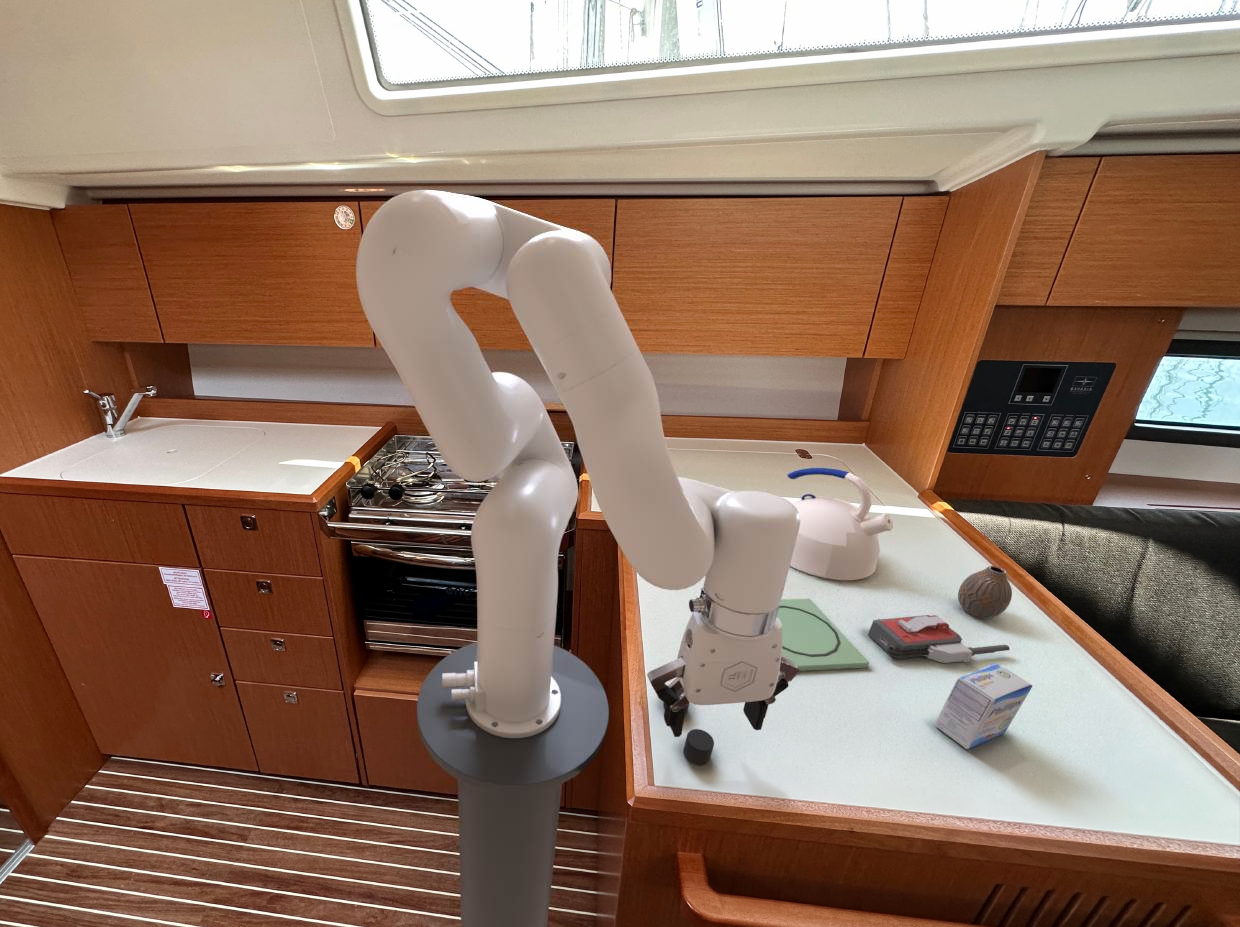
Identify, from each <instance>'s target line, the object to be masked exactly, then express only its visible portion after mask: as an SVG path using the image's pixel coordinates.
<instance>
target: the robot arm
mask: <svg viewBox="0 0 1240 927" xmlns="http://www.w3.org/2000/svg"><path fill="white" fill-rule="evenodd" d="M355 278H356V280H355V281H356V287H357V289H356V290H357V293H358V297H359V301H360V305H361V308H362V310H363V313H364V315H365V317H366V319H367V321H368V323H369V325H370V327H371V329H372V331H373V333H374V334H375V336H376V338H377V339H378V341H379V343H380V345H381V346H382V348H383V349H384V351H385V352H386V354H387V356H388V358H389V359H390V361H391V363H392V364H393V366H394V368H395V370H396V371H397V374H398V376H399V377H400V380H401V381H402V383H403V385H404V387H405V389H406V392H407V394H408V396H409V398H410V400H411V402H412V403H413V406H414V407H415V408H416V411H417V413H418V415H419V417H420V419H421V421H422V423H423V425H424V426H425V429H426V430H427V433H428V434H429V436H430V438H431V440H432V442H433V444H434V446H435V448H436V449H437V451H438V453H439V455H440V457H441V458H442V460H443V462H444V463H445V464H446V466H447V467H448V468H449V469H450V471H451V472H452V473H453V474H454V475H456V476H457V477H459V478H460V479H463V480H466V481H467V482H475V483H478V482H479V483H480V482H484V481H488V480H490V479H492V478H495V477H497V479H498V481H497V482H496V484H495V485H494V486H493V487H492V488H491V490H490V491H489V492H488V493H487V494H486V496H485V497H484V499H483V500H482V501H481V503H480V504H479V507H478V508H477V509H476V512H475V514H474V516H473V521H472V524H471V531H470V543H471V544H470V545H471V550H472V555H473V560H474V565H475V566H474V567H475V574H476V575H475V576H476V604H477V605H476V608H477V609H476V610H477V613H476V616H477V618H476V620H477V625H476V626H477V628H476V630H477V631H476V633H477V635H476V636H477V640H476V642H477V662H474V670H467V673H459V674H456V673H443V674H442V687H443V689H444V688H456V687H467V689H462V690H461V689H452V701H453V700H462V699H466V708H467V711H468V714H469V715H470V717H471V719H472V720H473V721H474V722H475V723H476V724H477V725H478V726H479V727H480V728H482V729H483V730H485V731H486V732H489V733H491V734H493V735H496V736H500V737H504V738H524V737H529V736H533V735H535V734H538V733H540V732H542V731H543V730H545V729H546V728H548V727H549V726H550V725H551V724H552V723H553V722H554V721H555V719H556V718H557V716H558V714H559V711H560V706H561V692H560V689H559V686H558V685H557V683H556V681H555V680H554V679H553V678H552V676H551V673H552V661H553V649H554V645H555V635H556V623H557V611H558V610H557V609H558V607H557V606H558V597H559V596H558V594H559V570H558V562H559V552H560V547H561V543H562V539H563V536H564V534H565V532H566V529H567V527H568V525H569V521H570V519H571V517H572V515H573V512H574V511H575V508H576V505H577V502H578V496H579V487H578V486H579V485H578V482H577V481H578V480H577V477H576V474H575V472H574V471H575V470H574V469H573V466H572V464H571V462H570V460H569V458H568V454H567V452H566V451H565V448H564V446H563V444H562V442H561V440H560V437H559V435H558V433H557V431H556V429H555V427H554V424H553V422H552V420H551V417H550V416H549V414H548V411H547V409H546V407H545V405H544V403H543V401H542V399H541V398H540V396H539V394H538V393H537V392H536V391H535V389H534V388H533V387H532V386H531V385H530V384H529V383H528V382H527V381H525V380H524V379H523V378H522V377H519V376H518V375H515V374H513V373H509V372H504V371H494V372H492V371H491V369H490V367H489V365H488V363H487V361H486V360H485V357H484V356H483V352H482V350H481V347H480V345H479V343H478V341H477V339H476V337H475V336H474V334H473V333H472V331H471V330H470V328H469V327H468V326H467V323H466V322H464V320H463V319H462V318H461V317H460V315H459V314H458V313H457V311H456V309H455V308H454V306H453V304H452V301H451V296H452V293H453V292H454V291H459V290H463V289H467V288H475V289H478V290H481V291H483V292H487V293H489V294H492V295H495V296H498V297H501V298H503V299H505V300H508V302H509V305H510V307H511V309H512V312H513V313H514V316H515V317H516V320H517V321H518V323H519V325H520V327H521V328H522V331H523V333H524V334H525V337H526V339H527V340H528V342H529V344H530V346H531V348H532V349H533V351H534V353H535V354H536V356H537V358H538V359H539V361H540V364H541V365H542V367H543V368H544V371H545V373H546V375H547V377H548V378H549V381H550V382H551V384H552V386H553V388H554V389H555V392H556V394H557V395H558V397H559V400H560V402H561V403H562V405H563V407H564V409H565V411H566V413H567V415H568V417H569V419H570V421H571V424H572V426H573V430H574V434H575V439H576V442H577V445H578V449H579V452H580V454H581V458H582V460H583V464H584V466H585V470H586V474H587V476H588V479H589V482H590V485H591V489H592V491H593V494H594V497H595V500H596V502H597V505H598V507H599V510H600V512H601V514H602V516H603V518H604V520H605V523H606V524H607V526H608V528H609V530H610V532H611V533H612V536H613V537H614V539H615V541H616V543H617V544H618V546H619V548H620V550H621V551H622V553H623V555H624V557H625V559H626V560H627V562H628V563H629V565H630V566H631V568H632V569H633V570H634V571H635V572H636V574H638V575H639V576H640V577H641V578H642V579H643V580H644V581H645V582H647V583H648V584H651V586H654V587H656V588H659V589H661V590H667V591H682V590H686V589H688V588H691V587H693V586H695V585H697V584H698V583H699V582H701V581H702V580H703V579H704V581H703V582H704V583H703V586H702V587H701V589H700V595H699V597H696V598H694V599H693V598H692V599H691V598H690V599H689V600H688V608H689V611H690V612H691V615H690V617H689V619H688V622H687V624H686V626H685V630H684V633H683V635H682V638H681V641H680V646H679V649H678V653H677V659H674V660H671V661H670V662H667V663H665V664H663V665H661V666H659V667H657V668H655V669H653V670H650V671H649V672H648V673H647V674H646V676H647V678H648V681H649V683H650V685H651V687H652V689H653V691H654V692H655V694H656V696H657V697H658V699H659V700H660V701H662V702H663V704H664V703H666V705H665V708H664V712H663V720H664V722H665V725H666V726H667V727H669V728H670V730H671V731H672V735H673V736H674V738H679V737H681V736H682V734H683V728H684V723H685V718H686V714H685V711H684V709H683V707H684V706H686V705H687V704H688V703H689V702H690V703H689V704H693V705H696V706H716V705H728V704H740V703H741V704H742V703H744V705H743V709H742V710H743V711H742V712H743V714H744V715H745V717H746V719H747V720H748V722H749V723H750V726H751V728H753V730H755V731H762V727H763V724H764V720H765V718H766V717H767V712H768V708H769V705H773V704H774V703H775V702H776V700H777V698H776V697H777V696H778V695H780V694H781V693H782V692H784V691H785V690H786V689H787V688H789V686H790V685H789V682H792V681H793V680H794V679H795V677H796V676H797V675H799V673H800V672H801V671H800V669H799V668H798V667H797V665H796V664H795V663H794V662H793V661H792V660H789V659H787V658H784V657H781V656H782V623H781V621H780V619H779V618H778V617H777V614H778V610H779V606H780V602H781V600H782V598H783V595H784V590H785V587H786V586H785V585H786V582H787V577H788V573H789V570H790V567H791V566H790V563H791V559H792V555H793V551H794V547H795V544H796V540H797V536H798V532H799V527H800V515H799V512H798V510H797V509H796V507H795V506H794V505H793V504H794V503H792V502H791V501H789V500H788V499H786V498H784V497H782V496H779V495H777V494H774V493H771V492H765V491H760V490H740V491H737V490H733V489H729V488H725V487H720V486H717V485H714V484H710V483H707V482H703V481H700V480H697V479H694V478H689V477H684V476H678V474H677V472H676V469H675V467H674V464H673V461H672V458H671V455H670V452H669V448H668V445H667V442H666V438H665V433H664V429H663V428H664V427H663V423H662V421H663V420H662V413H661V405H660V399H659V394H658V390H657V387H656V383H655V380H654V376H653V374H652V372H651V369H650V368H649V366H648V364H647V362H646V360H645V358H644V356H643V354H642V351H641V350H640V347H639V346H638V344H637V342H636V340H635V338H634V336H633V333H632V332H631V330H630V327H629V326H628V324H627V321H626V319H625V317H624V315H623V313H622V311H621V309H620V307H619V304H618V302H617V300H616V298H615V296H614V293H613V291H612V289H611V283H612V268H611V263H610V260H609V258H608V255H607V253H606V251H605V249H604V248H603V247H602V245H601V244H600V243H599V242H598V241H597V240H596V239H595V238H593V237H592V236H591V235H588V234H586V233H583V232H582V231H579V230H576V229H571V228H569V227H565V226H561V225H558V224H555V223H552V222H550V221H546V220H543V219H540V218H538V217H534V216H533V215H529V214H526V213H523V212H520V211H517V210H514V209H512V208H509V207H507V206H504V205H502V204H501V205H500V204H497V203H495V202H492V201H490V200H487V199H483V198H480V197H476V196H472V195H465V194H460V193H452V192H447V191H442V190H433V189H417V190H416V189H415V190H411V191H406V192H403V193H400V194H398V195H395V196H393V197H391V198H390V199H388V200H387V201H386V202H384V203H383V204H382V205H381V206H380V207H379V208H378V209H377V210H376V211H375V212H374V214H372V216H371V218H370V219H369V221H368V223H367V224H366V226H365V228H364V231H363V233H362V236H361V238H360V241H359V245H358V250H357V255H356V263H355ZM671 680H672V681H671ZM669 681H671V682H670V683H669V684H668V685H667V684H666V683H667V682H669ZM682 688H683V689H684V692H683V693H682V694H681V695H680V696H678V694H677V692H678V691H679V690H680V689H682Z"/></svg>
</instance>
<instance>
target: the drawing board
mask: <svg viewBox="0 0 1240 927" xmlns="http://www.w3.org/2000/svg"><path fill="white" fill-rule="evenodd" d="M777 617H778V618H779V619H780V621H781V623H782V656H781V657H784V658H787V659H789V660H792V661H793V662H794V663H795V664H796V665H797V667H798V668H799V669H800V671H799V672H804V671H805V672H806V671H825V670H844V669H847V670H848V669H867V668H868V667H869V666H870V662H869V661H868V659H867V658H866V657H865V656H864V655H863V654H862V653H861V652H860V651H859V650H858V648H857V647H855V646H854V644H853V643H852V642H851V641H850V640H849V639H848V638H847V637H846V636H845V634H843V632H841V630H840V629H839V628H837V626H836V625H835V624H834V623H833V622H832V621H831V620H830V618H828V617H827V615H825V613H824V612H822V610H821V609H820V608H819V607H818V606H817V605H816V604H815V603H814V602H813V601H812V600H811V598H791V599H781V602H780V606H779V610H778V614H777Z"/></svg>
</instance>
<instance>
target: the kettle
mask: <svg viewBox="0 0 1240 927" xmlns="http://www.w3.org/2000/svg"><path fill="white" fill-rule="evenodd" d="M813 475H814V476H815V475H816V476H819V475H820V476H830V477H836V478H840V479H842V480H843V479H844V480H846V481H848V482H849V483H852V484H853V486H854V487H855V488H856V489H857V491H858V493H859V495H860V503H859V504H860V505H859V506H857V505H855V504H852V503H851V502H848V501H846V500H843V499H840V498H835V497H830V496H815V495H814V494H812V493H807V494H804V495H802V496H801V500H797V501H796V502H794V503H792V504H793V505H794V506H795V507H796V509H797V510H798V512H799V515H800V527H799V532H798V536H797V540H796V544H795V547H794V551H793V555H792V559H791V563H790V567H791V568H792V569H795V570H797V571H800V572H802V573H805V574H807V575H810V576H814V577H817V578H822V579H825V580H833V581H844V582H845V581H851V582H852V581H857V580H862V579H866V578H868V577H870V576H871V575H873V574H874V572H875V571H876V570H877V563H878V561H879V560H878V559H879V555H880V552H881V550H880V549H881V548H880V539H879V534H881V533H884V532H891V531H892V530H893V529H894V523H893V519H892V517H891V516H890V514H888V513H882V514H880V515H876V516H872V517H869V516H868V514H869V512H870V509H871V507H872V495H871V493H870V490H869V488H868V486H867V484H865V482H864V481H863V480H862V479H861V478H860V477H858V476H857V475H855V474H853V473H851V472H849V471H846V470H842V469H838V468H837V469H836V468H828V467H809V468H802V469H798V470H794V471H791V472H789V473H787V475H786V476H787V478H788V479H790V480H796V479H798V478H802V477H805V476H813ZM806 497H808V498H806Z"/></svg>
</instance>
